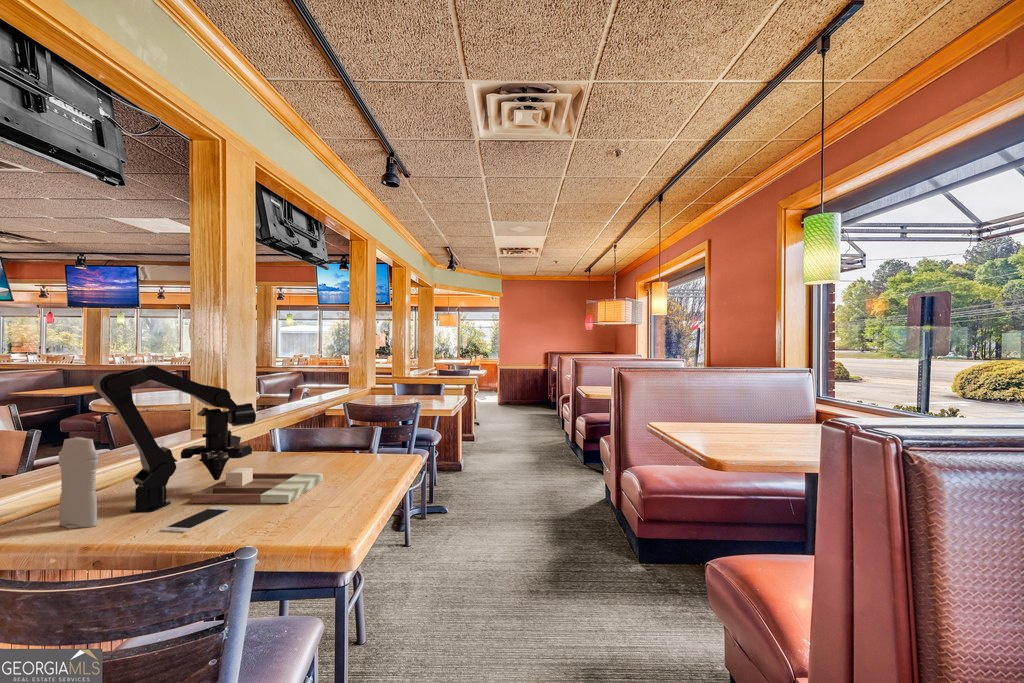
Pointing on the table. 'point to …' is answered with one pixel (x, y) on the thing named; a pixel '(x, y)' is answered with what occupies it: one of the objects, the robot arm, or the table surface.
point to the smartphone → (197, 519)
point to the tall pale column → (78, 483)
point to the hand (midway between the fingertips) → (217, 479)
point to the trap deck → (260, 489)
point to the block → (239, 476)
